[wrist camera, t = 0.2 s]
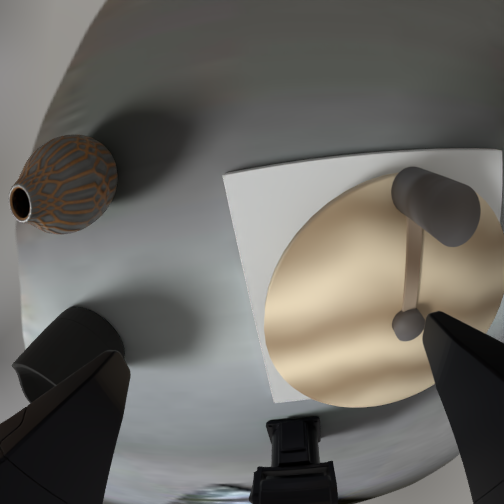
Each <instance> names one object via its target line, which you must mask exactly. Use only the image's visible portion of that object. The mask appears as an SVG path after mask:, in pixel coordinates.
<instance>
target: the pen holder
mask: <svg viewBox="0 0 504 504" xmlns="http://www.w3.org/2000/svg"><path fill="white" fill-rule="evenodd" d="M107 350H116V351H118V352H120V354H121V355H122V357H123V359H124V356H125V353H124V347H123V344H122V341H121V339H120V337H119V335H118V334H117V332H116V331H115V330H114V328H113V327H112V326H111V325H110V324H109V323H108V322H107V321H106V320H105V319H103V318H102V317H101V316H99V315H98V314H96V313H94V312H92V311H90V310H87V309H84V308H77V307H75V308H69V309H67V310H65V311H64V312H62V313H61V314H60V315H59V316H58V317H57V318H56V319H55V320H54V321H53V322H52V323H51V324H50V325H49V326H48V327H47V328H46V329H45V330H44V331H43V332H42V333H41V334H40V335H39V336H38V337H37V338H36V339H35V340H34V341H33V342H32V343H31V344H30V346H29V347H28V348H27V349H26V350H25V351H24V352H23V353H22V354H21V355H20V356H19V357H18V359H17V360H16V361H15V362H14V363H13V364H12V367H13V368H14V369H15V370H16V372H17V375H18V377H19V381H20V385H21V388H22V390H23V393H24V395H25V397H26V398H27V400H28V401H29V402H30V403H32V402H34V401H35V400H36V399H38V398H39V397H41V396H42V395H43V394H45V393H46V392H48V391H49V390H51V389H52V388H53V387H55V386H56V385H58V384H59V383H61V382H62V381H63V380H65V379H66V378H68V377H69V376H70V375H72V374H73V373H75V372H76V371H78V370H79V369H80V368H82V367H83V366H85V365H86V364H88V363H89V362H90V361H92V360H93V359H95V358H96V357H98V356H99V355H100V354H102V353H103V352H105V351H107Z"/></svg>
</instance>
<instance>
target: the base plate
mask: <svg viewBox="0 0 504 504" xmlns="http://www.w3.org/2000/svg"><path fill="white" fill-rule="evenodd" d="M407 167H419V168H422V169H425V170H428V171H431V172H433V173H436V174H439V175H442V176H445V177H447V178H450V179H453V180H455V181H458V182H460V183H463V184H466V185H468V186H470V187H471V188H472V189H473V190H474V191H475V192H476V193H478V194H479V195H480V196H481V197H482V198H483V199H484V200H485V201H486V202H487V203H488V205H489V206H490V207H491V209H492V210H493V211H494V213H495V215H496V217H497V219H498V221H499V223H500V217H501V203H502V150H497V149H484V148H446V149H416V150H398V151H383V152H371V153H360V154H349V155H340V156H331V157H323V158H315V159H307V160H300V161H293V162H286V163H280V164H273V165H267V166H261V167H255V168H250V169H244V170H239V171H233V172H228V173H225V174H224V175H223V180H224V185H225V190H226V194H227V199H228V204H229V208H230V213H231V217H232V222H233V227H234V231H235V236H236V240H237V245H238V249H239V254H240V258H241V263H242V267H243V272H244V276H245V280H246V285H247V289H248V294H249V298H250V302H251V307H252V311H253V316H254V320H255V324H256V329H257V333H258V337H259V341H260V346H261V350H262V354H263V359H264V363H265V367H266V371H267V376H268V380H269V384H270V388H271V392H272V396H273V401H274V403H280V402H290V401H299V400H307V399H311V398H309V397H307V396H305V395H303V394H302V393H300V392H299V391H297V390H296V389H294V388H293V387H292V386H291V385H290V384H289V383H287V382H286V381H285V380H284V379H283V377H282V376H281V375H280V374H279V372H278V371H277V370H276V368H275V366H274V364H273V362H272V360H271V358H270V356H269V353H268V350H267V346H266V342H265V334H264V316H265V301H266V296H267V291H268V286H269V283H270V280H271V278H272V275H273V272H274V269H275V267H276V265H277V263H278V261H279V259H280V258H281V256H282V254H283V252H284V250H285V249H286V247H287V246H288V244H289V243H290V242H291V240H292V239H293V237H294V236H295V234H296V233H297V232H298V231H299V230H300V229H301V228H302V226H303V225H304V224H305V223H306V222H307V221H308V220H309V219H310V218H311V217H312V216H313V215H314V214H315V213H316V212H318V211H319V210H320V209H321V208H322V207H323V206H324V205H326V204H327V203H328V202H330V201H331V200H333V199H334V198H336V197H337V196H339V195H340V194H342V193H343V192H345V191H346V190H348V189H350V188H352V187H354V186H356V185H358V184H360V183H363V182H365V181H367V180H370V179H373V178H376V177H380V176H383V175H387V174H393V173H399V172H400V171H401V170H403V169H405V168H407Z"/></svg>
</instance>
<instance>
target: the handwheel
mask: <svg viewBox="0 0 504 504" xmlns="http://www.w3.org/2000/svg"><path fill="white" fill-rule="evenodd" d="M503 294H504V233H503V230H502V227H501V225H500V223H499V221H498V219H497V217H496V215H495V213H494V211H493V210H492V209H491V207H490V206H489V205H488V203H487V202H486V201H485V200H484V199H483V198H482V197H481V196H480V195H479V194H478V193H476V192H475V191H474V190H473V189H472V188H471V187H470V186H468V185H466V184H463V183H460V182H458V181H455V180H453V179H450V178H447V177H445V176H442V175H439V174H436V173H433V172H431V171H428V170H425V169H422V168H419V167H407V168H405V169H403V170H401V171H400V172H399V173H393V174H387V175H383V176H380V177H376V178H373V179H370V180H367V181H365V182H363V183H360V184H358V185H356V186H354V187H352V188H350V189H348V190H346V191H345V192H343V193H342V194H340V195H339V196H337V197H336V198H334V199H333V200H331V201H330V202H328V203H327V204H326V205H324V206H323V207H322V208H321V209H320V210H319V211H318V212H316V213H315V214H314V215H313V216H312V217H311V218H310V219H309V220H308V221H307V222H306V223H305V224H304V225H303V226H302V228H301V229H300V230H299V231H298V232H297V233H296V234H295V236H294V237H293V239H292V240H291V242H290V243H289V244H288V246H287V247H286V249H285V250H284V252H283V254H282V256H281V258H280V259H279V261H278V263H277V265H276V267H275V269H274V272H273V275H272V278H271V280H270V283H269V286H268V291H267V296H266V301H265V316H264V334H265V342H266V346H267V350H268V353H269V356H270V358H271V360H272V362H273V364H274V366H275V368H276V370H277V371H278V372H279V374H280V375H281V376H282V377H283V379H284V380H285V381H286V382H287V383H289V384H290V385H291V386H292V387H293V388H294V389H296V390H297V391H299V392H300V393H302V394H303V395H305V396H307V397H309V398H311V399H313V400H316V401H319V402H322V403H325V404H329V405H334V406H340V407H372V406H379V405H384V404H389V403H392V402H396V401H399V400H402V399H405V398H408V397H410V396H413V395H415V394H417V393H419V392H421V391H423V390H425V389H427V388H429V387H430V386H432V385H434V384H435V382H434V378H433V375H432V371H431V368H430V365H429V361H428V358H427V355H426V352H425V349H424V346H423V341H422V336H423V331H424V325H425V320H426V316H427V315H428V314H429V313H432V312H436V311H442V312H444V313H446V314H448V315H450V316H452V317H454V318H456V319H458V320H460V321H462V322H464V323H466V324H468V325H470V326H472V327H474V328H475V329H477V330H479V331H481V332H483V333H485V334H486V333H487V331H488V329H489V328H490V326H491V324H492V322H493V320H494V318H495V316H496V314H497V311H498V309H499V307H500V304H501V301H502V297H503Z"/></svg>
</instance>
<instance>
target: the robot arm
mask: <svg viewBox="0 0 504 504" xmlns="http://www.w3.org/2000/svg"><path fill="white" fill-rule="evenodd" d="M422 341H423V346H424V349H425V352H426V355H427V358H428V361H429V365H430V368H431V371H432V375H433V378H434V382H435V385H436V388H437V391H438V393H439V396H440V398H441V401H442V403H443V406H444V409H445V411H446V414H447V417H448V419H449V422H450V425H451V428H452V431H453V434H454V436H455V439H456V442H457V446H458V449H459V452H460V455H461V458H462V462H463V465H464V468H465V472H466V476H467V480H468V484H469V487H470V492H471V496H472V500H473V502H474V503H473V504H504V343H502V342H500V341H498V340H497V339H495V338H493V337H491V336H489V335H487V334H485V333H483V332H481V331H479V330H477V329H475V328H474V327H472V326H470V325H468V324H466V323H464V322H462V321H460V320H458V319H456V318H454V317H452V316H450V315H448V314H446V313H444V312H442V311H436V312H432V313H429V314H428V315H427V316H426V320H425V325H424V331H423V336H422ZM129 381H130V369H129V367H128V366H127V364H126V362H125V360H124V359H123V357H122V355H121V354H120V352H118V351H116V350H107V351H105V352H103V353H102V354H100V355H99V356H98V357H96V358H95V359H93V360H92V361H90V362H89V363H88V364H86V365H85V366H83V367H82V368H80V369H79V370H78V371H76V372H75V373H73V374H72V375H70V376H69V377H68V378H66V379H65V380H63V381H62V382H61V383H59V384H58V385H56V386H55V387H53V388H52V389H51V390H49V391H48V392H46V393H45V394H43V395H42V396H41V397H39V398H38V399H36V400H35V401H34V402H32V403H31V404H29V405H28V406H27V407H25V408H23V409H22V410H21V411H19V412H18V413H16V414H15V415H13V416H12V417H11V418H9V419H7V420H6V421H4V422H2V423H1V424H0V504H103V499H104V494H105V489H106V484H107V480H108V475H109V471H110V466H111V462H112V458H113V454H114V450H115V446H116V442H117V438H118V434H119V430H120V426H121V423H122V419H123V414H124V409H125V403H126V397H127V392H128V387H129ZM266 428H267V431H268V434H269V437H270V440H271V444H272V462H271V467H258V468H257V471H256V472H254V480H253V486H252V489H251V493H250V496H249V501H250V502H251V503H252V504H337V503H338V493H337V483H336V477H335V472H334V466H333V461H328V462H325V463H320V458H319V447H318V442H320V418H319V417H310V418H302V419H293V420H282V421H270V422H267V423H266Z"/></svg>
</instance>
